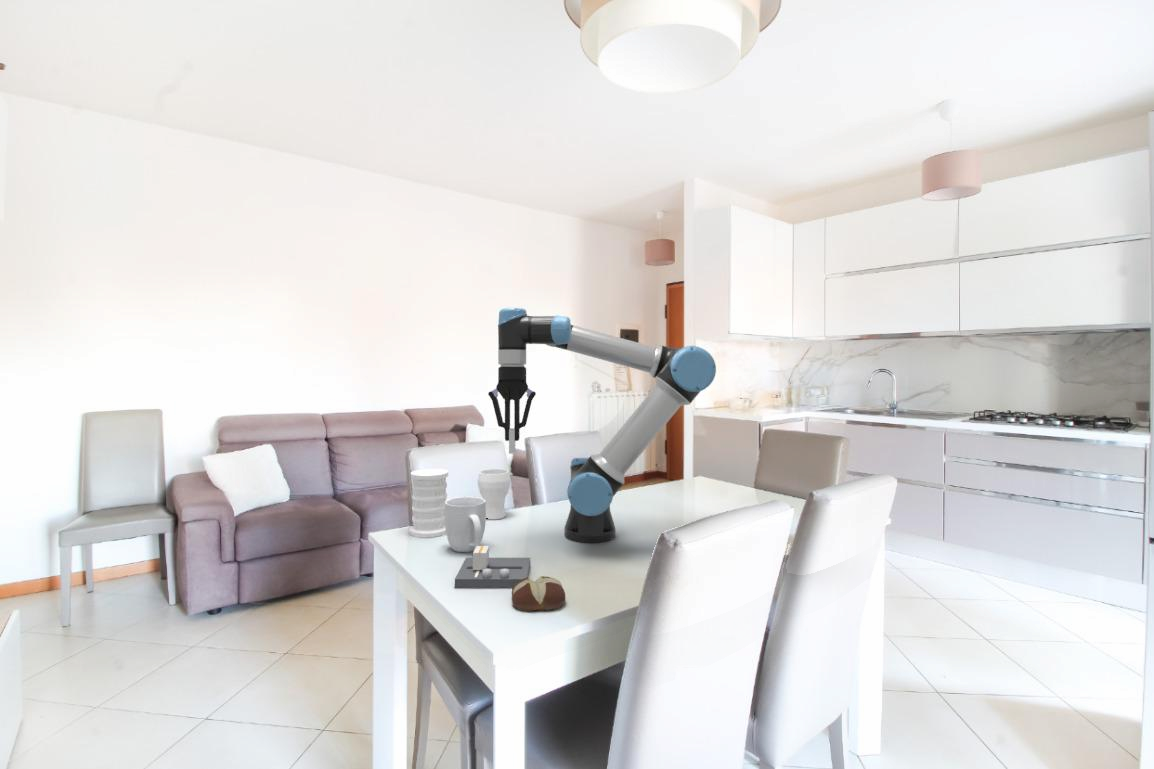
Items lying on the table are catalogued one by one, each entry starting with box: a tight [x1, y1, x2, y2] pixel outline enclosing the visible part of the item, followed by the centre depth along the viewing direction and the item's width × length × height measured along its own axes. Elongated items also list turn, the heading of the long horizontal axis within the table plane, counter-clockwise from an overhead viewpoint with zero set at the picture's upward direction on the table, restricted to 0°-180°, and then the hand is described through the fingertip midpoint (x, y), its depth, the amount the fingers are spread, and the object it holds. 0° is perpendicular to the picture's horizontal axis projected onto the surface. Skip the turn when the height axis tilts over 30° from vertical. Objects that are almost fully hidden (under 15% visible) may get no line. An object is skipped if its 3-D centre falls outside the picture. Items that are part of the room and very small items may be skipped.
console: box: [454, 557, 531, 589], centre depth 131 cm, size 16×14×4 cm
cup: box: [477, 468, 511, 520], centre depth 182 cm, size 11×11×15 cm
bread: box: [511, 575, 566, 612], centre depth 117 cm, size 11×11×5 cm
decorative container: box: [409, 468, 449, 539], centre depth 165 cm, size 12×12×18 cm
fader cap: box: [472, 545, 490, 570], centre depth 131 cm, size 3×5×4 cm, turn 1°
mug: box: [445, 496, 487, 553], centre depth 149 cm, size 15×11×13 cm
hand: (512, 452), depth 150 cm, fingers closed
